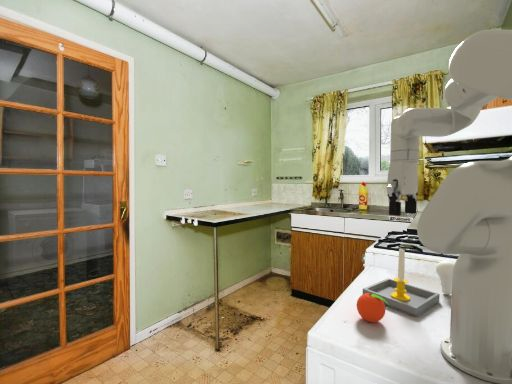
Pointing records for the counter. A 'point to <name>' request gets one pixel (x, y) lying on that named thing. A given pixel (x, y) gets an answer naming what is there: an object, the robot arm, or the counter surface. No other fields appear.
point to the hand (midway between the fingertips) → (402, 214)
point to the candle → (400, 280)
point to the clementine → (371, 307)
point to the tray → (418, 296)
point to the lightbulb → (445, 275)
